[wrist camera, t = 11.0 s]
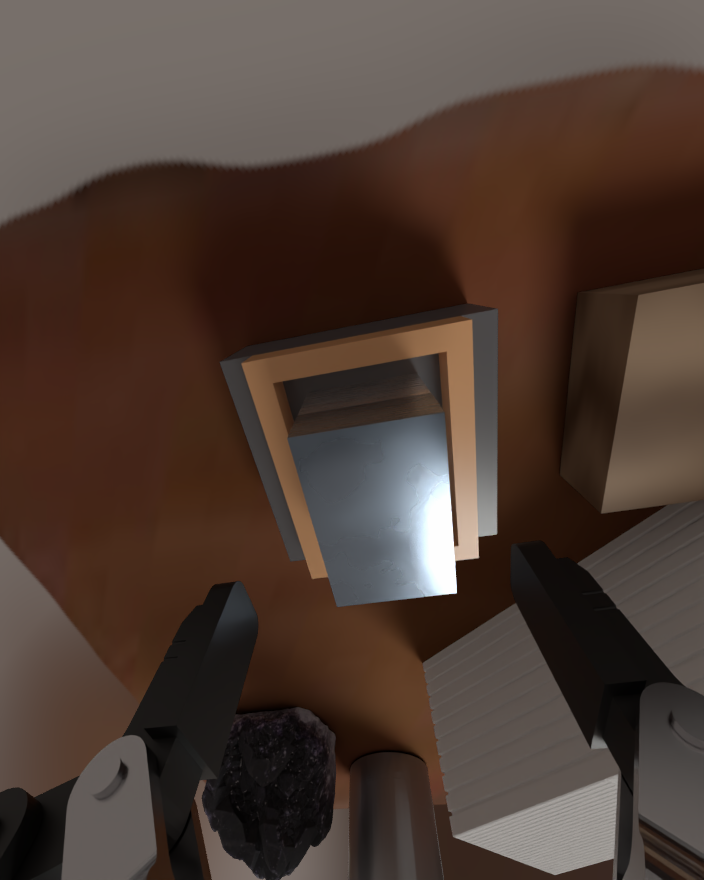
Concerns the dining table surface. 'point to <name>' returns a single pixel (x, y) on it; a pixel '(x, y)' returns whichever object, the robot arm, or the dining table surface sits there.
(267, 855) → the crystal cluster
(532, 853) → the long white block
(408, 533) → the block
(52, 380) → the dining table surface
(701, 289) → the walnut stand
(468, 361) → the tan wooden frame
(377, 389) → the housing base plate
